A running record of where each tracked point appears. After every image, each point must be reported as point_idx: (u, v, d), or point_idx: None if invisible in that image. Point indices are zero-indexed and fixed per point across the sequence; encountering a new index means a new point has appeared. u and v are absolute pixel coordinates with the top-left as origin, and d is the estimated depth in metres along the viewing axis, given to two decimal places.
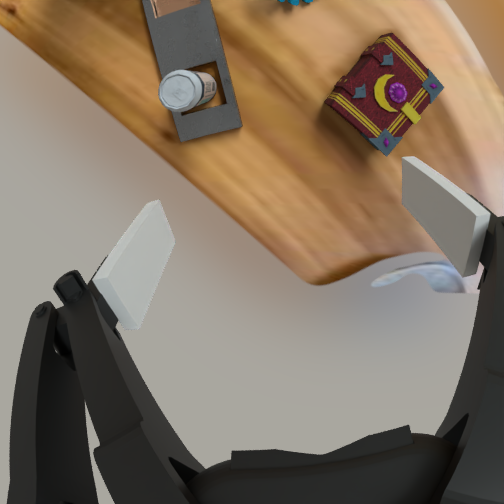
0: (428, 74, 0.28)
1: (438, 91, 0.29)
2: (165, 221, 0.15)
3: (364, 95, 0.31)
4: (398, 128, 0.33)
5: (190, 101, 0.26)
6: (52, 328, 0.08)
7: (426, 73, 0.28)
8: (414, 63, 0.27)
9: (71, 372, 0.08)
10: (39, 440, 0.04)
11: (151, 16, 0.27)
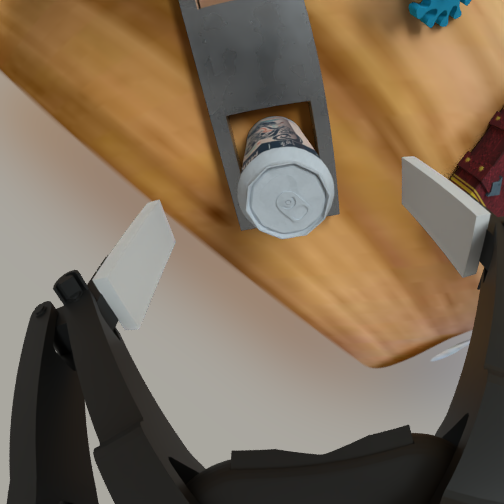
0: None
1: None
2: (165, 221, 0.15)
3: (498, 192, 0.19)
4: None
5: (312, 225, 0.14)
6: (52, 328, 0.08)
7: None
8: None
9: (71, 372, 0.08)
10: (39, 440, 0.04)
11: (190, 5, 0.15)
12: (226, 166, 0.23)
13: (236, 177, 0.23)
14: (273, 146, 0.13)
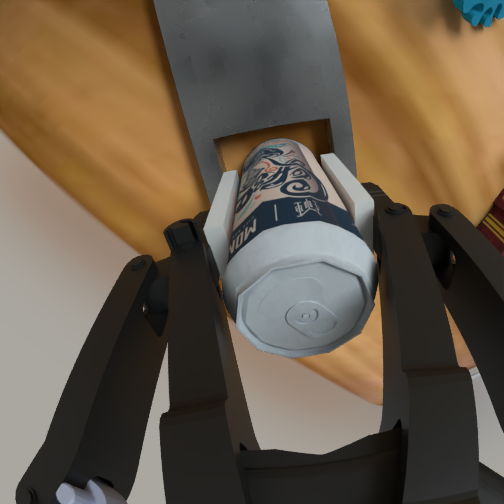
0: None
1: None
2: None
3: None
4: None
5: (339, 339, 0.08)
6: (146, 287, 0.09)
7: None
8: None
9: (155, 338, 0.09)
10: (94, 412, 0.05)
11: None
12: None
13: None
14: (283, 214, 0.08)
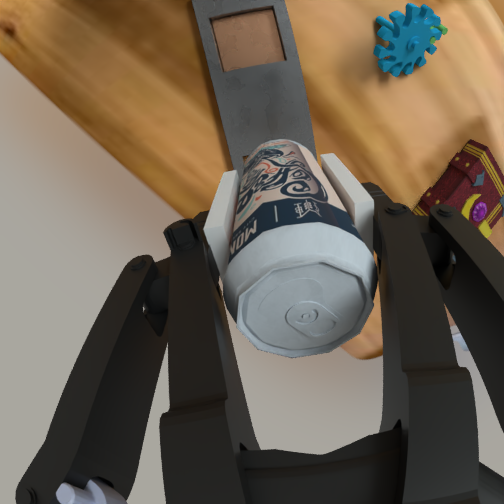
0: None
1: None
2: None
3: None
4: None
5: (338, 339, 0.09)
6: (146, 287, 0.09)
7: None
8: (498, 179, 0.26)
9: (155, 338, 0.09)
10: (94, 412, 0.05)
11: (216, 68, 0.24)
12: None
13: None
14: (283, 215, 0.08)
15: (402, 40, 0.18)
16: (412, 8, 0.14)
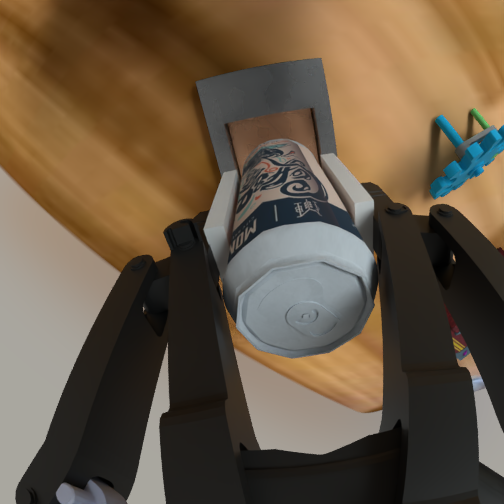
0: None
1: None
2: None
3: None
4: None
5: (339, 339, 0.09)
6: (146, 287, 0.09)
7: None
8: None
9: (155, 338, 0.09)
10: (94, 412, 0.05)
11: None
12: None
13: None
14: (283, 215, 0.08)
15: (467, 171, 0.16)
16: (494, 141, 0.13)
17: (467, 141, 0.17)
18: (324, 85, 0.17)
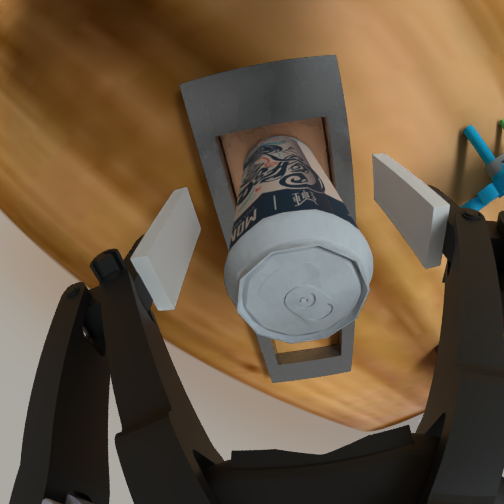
0: None
1: None
2: (192, 208, 0.15)
3: None
4: None
5: (336, 325, 0.09)
6: (83, 311, 0.08)
7: None
8: None
9: (98, 357, 0.08)
10: (56, 428, 0.05)
11: (232, 225, 0.19)
12: (264, 353, 0.27)
13: (271, 358, 0.27)
14: (281, 204, 0.08)
15: (500, 193, 0.13)
16: None
17: (499, 157, 0.13)
18: (340, 89, 0.14)
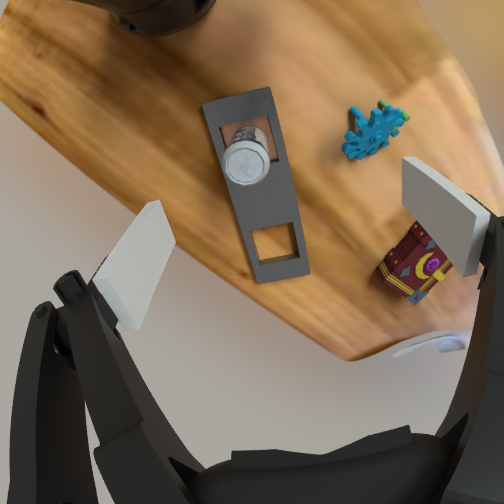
0: None
1: None
2: (165, 221, 0.15)
3: (408, 273, 0.43)
4: (427, 286, 0.45)
5: (258, 178, 0.28)
6: (52, 328, 0.08)
7: None
8: None
9: (71, 372, 0.08)
10: (39, 440, 0.04)
11: None
12: (250, 254, 0.45)
13: (255, 259, 0.46)
14: (238, 141, 0.27)
15: (365, 137, 0.31)
16: (375, 115, 0.27)
17: (369, 120, 0.32)
18: (272, 102, 0.33)
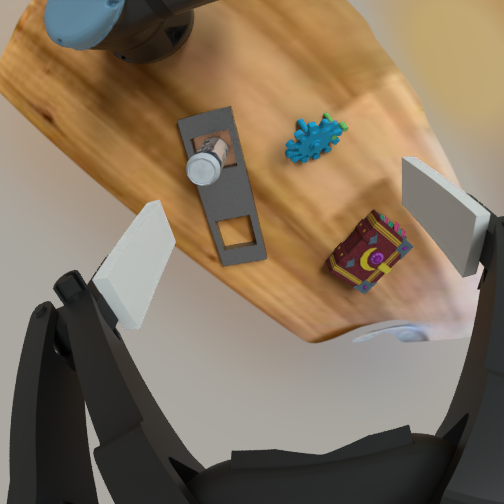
0: (402, 241, 0.51)
1: (408, 250, 0.52)
2: (165, 221, 0.15)
3: (353, 265, 0.54)
4: (374, 278, 0.56)
5: (211, 180, 0.37)
6: (52, 328, 0.08)
7: (401, 241, 0.51)
8: (393, 236, 0.50)
9: (71, 372, 0.08)
10: (39, 440, 0.04)
11: None
12: (216, 240, 0.55)
13: (220, 244, 0.56)
14: (198, 153, 0.37)
15: (304, 145, 0.41)
16: (310, 127, 0.37)
17: None
18: (232, 118, 0.42)
